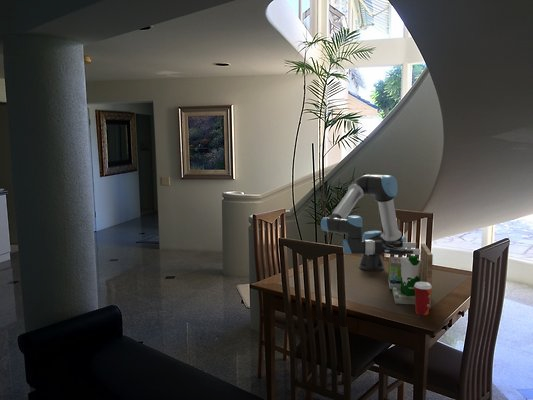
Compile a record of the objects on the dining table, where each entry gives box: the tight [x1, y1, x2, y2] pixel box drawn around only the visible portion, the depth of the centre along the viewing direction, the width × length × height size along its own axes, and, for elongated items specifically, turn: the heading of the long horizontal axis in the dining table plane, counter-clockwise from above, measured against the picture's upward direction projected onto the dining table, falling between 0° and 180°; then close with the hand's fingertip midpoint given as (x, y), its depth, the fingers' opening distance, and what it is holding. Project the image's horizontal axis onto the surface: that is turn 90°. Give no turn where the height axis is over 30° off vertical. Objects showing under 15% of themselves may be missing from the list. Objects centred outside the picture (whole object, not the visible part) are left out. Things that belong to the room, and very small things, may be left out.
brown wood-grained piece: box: [392, 243, 434, 309], centre depth 228 cm, size 24×16×26 cm, turn 169°
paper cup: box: [414, 282, 433, 316], centre depth 210 cm, size 8×8×14 cm
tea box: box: [387, 256, 407, 290], centre depth 249 cm, size 15×10×15 cm
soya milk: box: [400, 255, 422, 296], centre depth 228 cm, size 9×9×20 cm
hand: (418, 248), depth 225 cm, fingers open, 13 cm apart
